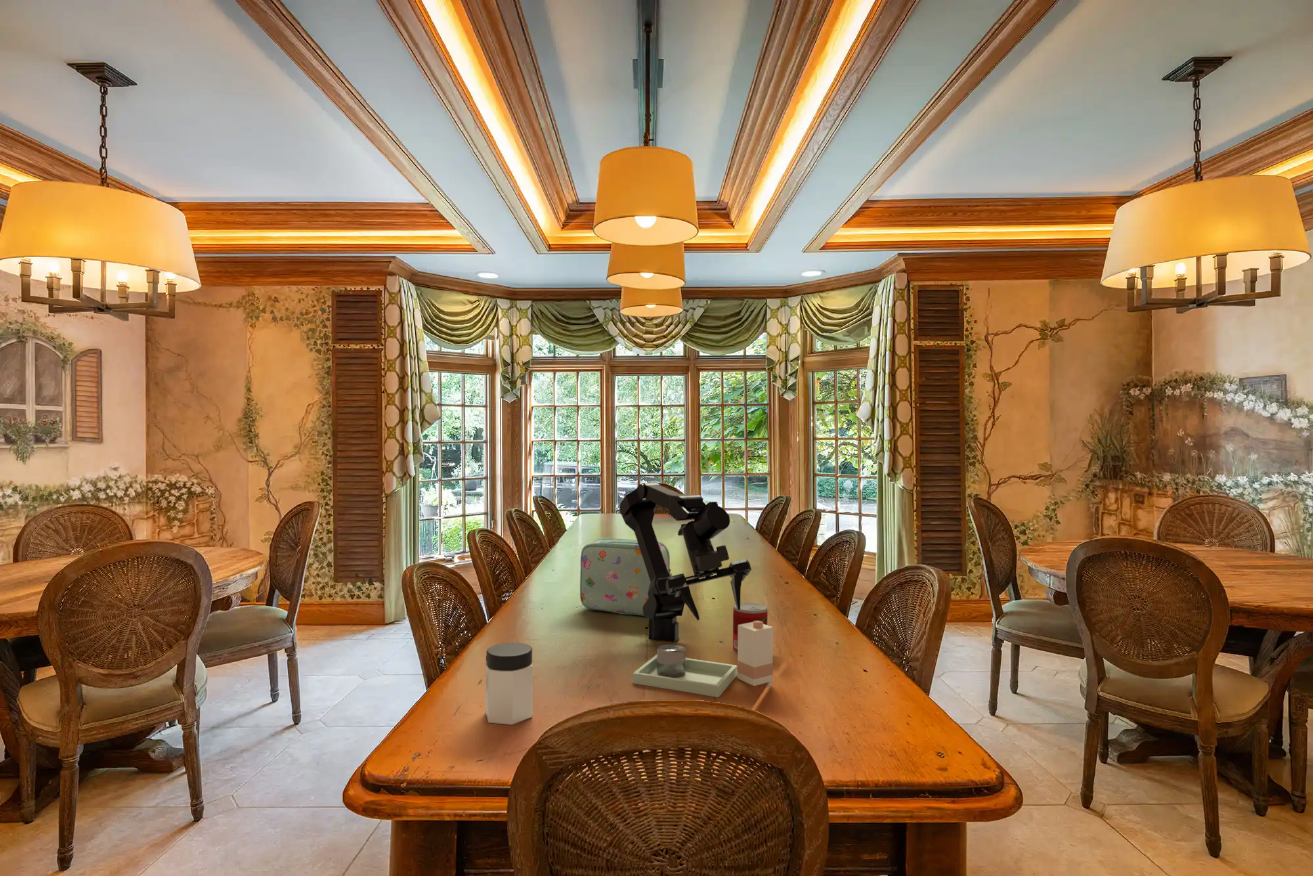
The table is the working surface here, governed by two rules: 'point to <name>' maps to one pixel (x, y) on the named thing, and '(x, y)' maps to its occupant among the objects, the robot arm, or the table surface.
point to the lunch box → (615, 576)
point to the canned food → (747, 617)
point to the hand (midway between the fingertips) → (718, 614)
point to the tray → (689, 677)
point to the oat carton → (755, 653)
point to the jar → (509, 683)
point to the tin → (671, 661)
